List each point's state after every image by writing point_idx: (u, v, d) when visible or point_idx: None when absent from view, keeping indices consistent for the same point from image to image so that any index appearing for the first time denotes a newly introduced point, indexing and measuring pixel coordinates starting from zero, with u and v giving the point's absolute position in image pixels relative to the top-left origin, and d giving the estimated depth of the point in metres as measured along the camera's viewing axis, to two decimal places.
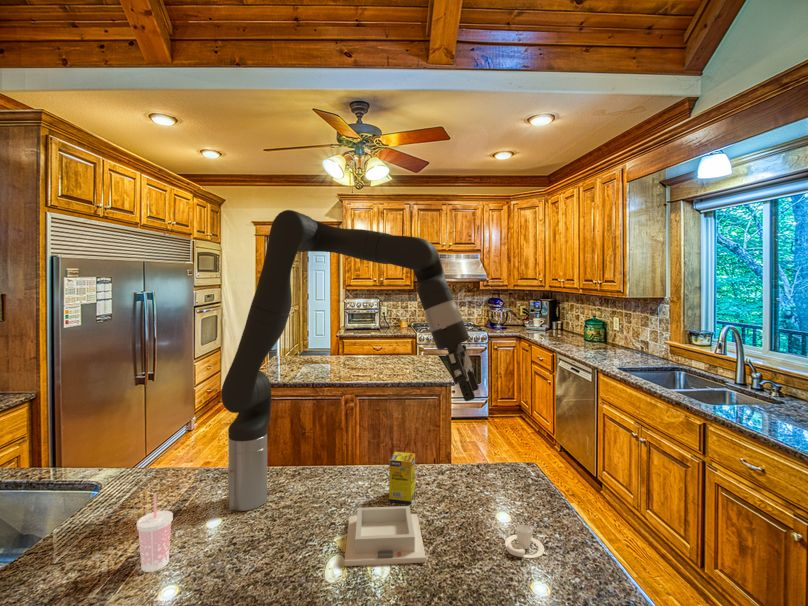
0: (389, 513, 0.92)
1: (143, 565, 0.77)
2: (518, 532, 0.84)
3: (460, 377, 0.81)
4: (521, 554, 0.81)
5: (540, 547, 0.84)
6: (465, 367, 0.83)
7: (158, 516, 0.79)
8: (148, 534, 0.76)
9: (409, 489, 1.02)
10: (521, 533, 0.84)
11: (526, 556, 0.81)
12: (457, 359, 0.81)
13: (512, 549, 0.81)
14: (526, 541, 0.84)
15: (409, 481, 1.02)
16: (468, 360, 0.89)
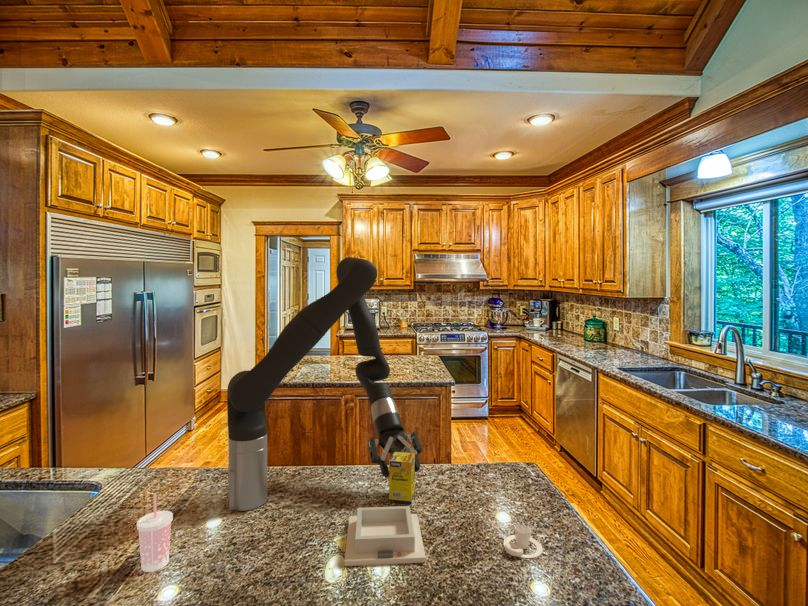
0: (389, 513, 0.92)
1: (143, 565, 0.77)
2: (516, 532, 0.84)
3: None
4: (519, 554, 0.81)
5: (538, 547, 0.84)
6: None
7: (158, 516, 0.79)
8: (148, 534, 0.76)
9: (409, 489, 1.02)
10: (519, 533, 0.84)
11: (524, 556, 0.81)
12: None
13: (510, 549, 0.82)
14: (524, 541, 0.84)
15: (409, 481, 1.02)
16: None
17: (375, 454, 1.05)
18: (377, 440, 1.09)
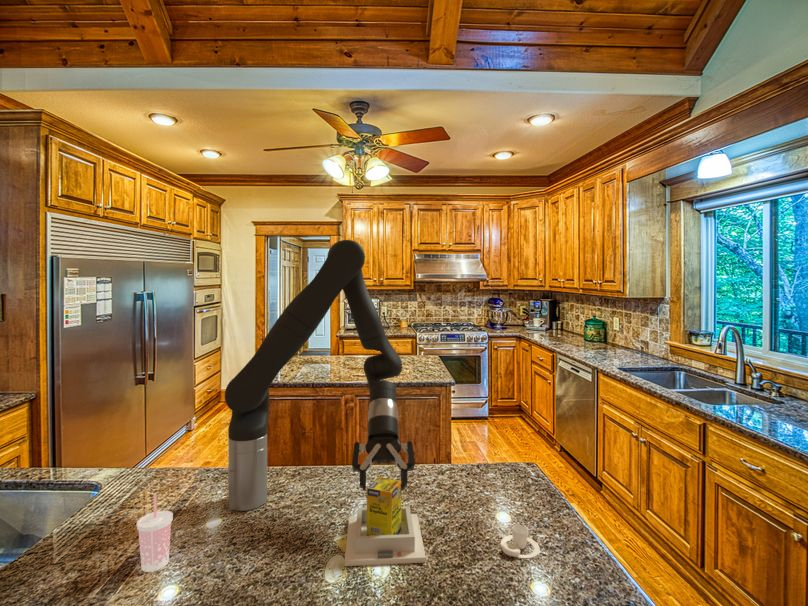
0: None
1: (143, 565, 0.77)
2: (514, 532, 0.84)
3: None
4: (516, 554, 0.81)
5: (536, 547, 0.84)
6: None
7: (158, 516, 0.79)
8: (148, 534, 0.76)
9: (389, 525, 0.84)
10: (516, 533, 0.84)
11: (521, 556, 0.81)
12: None
13: (507, 549, 0.82)
14: (522, 541, 0.83)
15: (389, 516, 0.84)
16: None
17: (355, 461, 0.91)
18: (363, 445, 0.95)
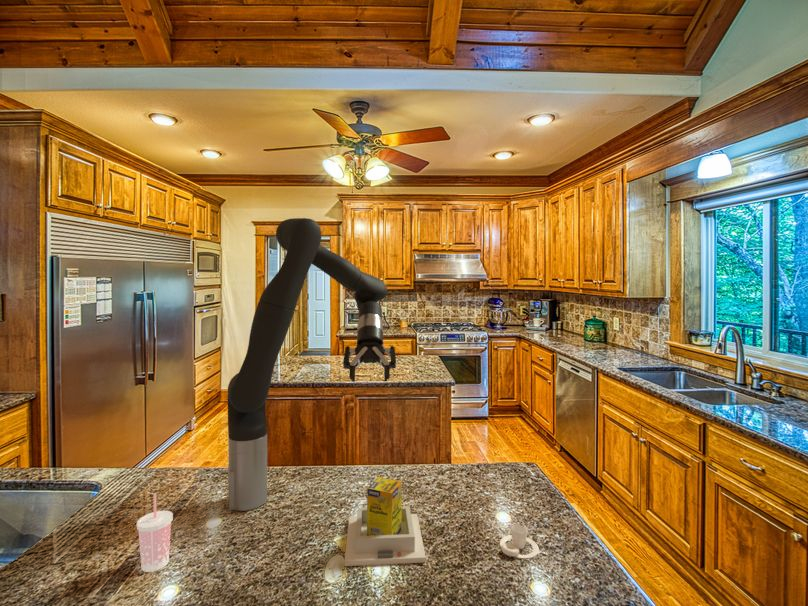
0: None
1: (143, 565, 0.77)
2: (513, 532, 0.84)
3: None
4: (515, 554, 0.81)
5: (535, 547, 0.84)
6: None
7: (158, 516, 0.79)
8: (148, 534, 0.76)
9: (389, 526, 0.84)
10: (516, 533, 0.84)
11: (520, 556, 0.81)
12: None
13: (506, 549, 0.82)
14: (521, 541, 0.83)
15: (389, 516, 0.84)
16: None
17: (346, 359, 1.09)
18: (353, 349, 1.12)
